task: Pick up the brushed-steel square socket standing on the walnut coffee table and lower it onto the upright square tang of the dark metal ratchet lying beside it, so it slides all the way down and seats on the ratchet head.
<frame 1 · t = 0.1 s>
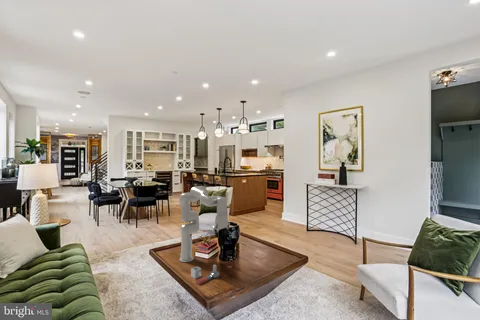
hand: (221, 235, 191), 31 cm above the table, fingers open, 9 cm apart
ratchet: (214, 276, 190), on the table
socket: (196, 276, 190), on the table
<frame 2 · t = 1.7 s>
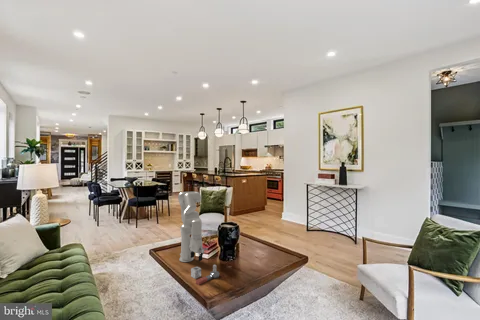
hand: (196, 258, 189), 14 cm above the table, fingers open, 9 cm apart
nothing on the table moved.
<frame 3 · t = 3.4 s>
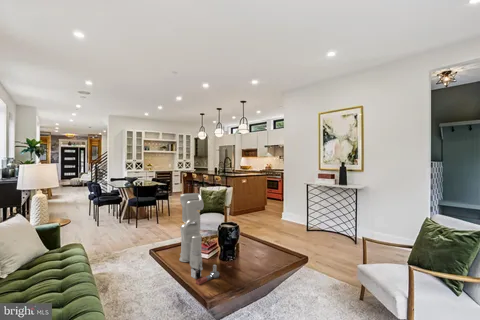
hand: (196, 275, 190), 1 cm above the table, fingers closed on socket, 5 cm apart
socket: (196, 276, 190), on the table, touching gripper
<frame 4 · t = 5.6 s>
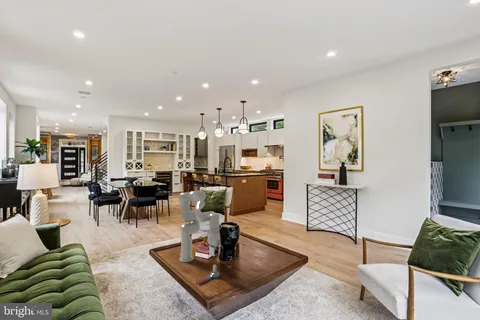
hand: (214, 253, 190), 18 cm above the table, fingers closed on socket, 5 cm apart
socket: (214, 254, 190), point 17 cm above the table, touching gripper
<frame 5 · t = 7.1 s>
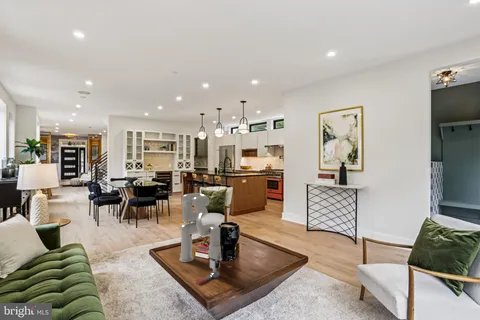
hand: (214, 266, 190), 8 cm above the table, fingers closed on socket, 5 cm apart
socket: (214, 267, 190), point 7 cm above the table, touching gripper
when the fingers open (4 cm above the table, at t = 8.1 s): socket drops 1 cm, resting on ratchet.
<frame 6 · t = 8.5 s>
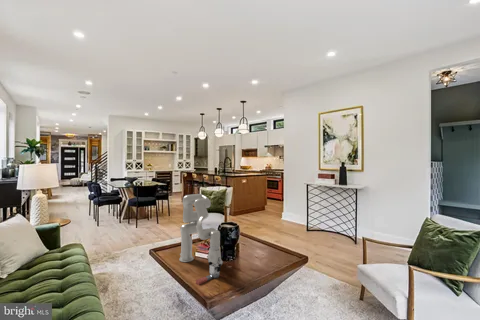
hand: (214, 269, 190), 5 cm above the table, fingers open, 9 cm apart
socket: (214, 272, 190), point 2 cm above the table, touching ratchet
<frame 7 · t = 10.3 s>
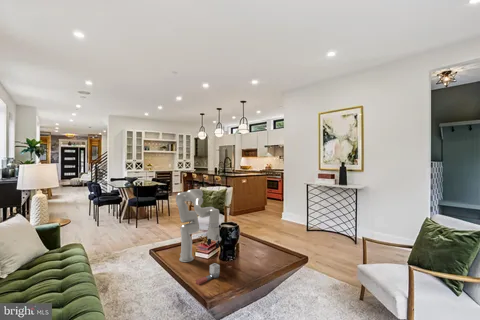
hand: (213, 246, 196), 21 cm above the table, fingers open, 9 cm apart
nothing on the table moved.
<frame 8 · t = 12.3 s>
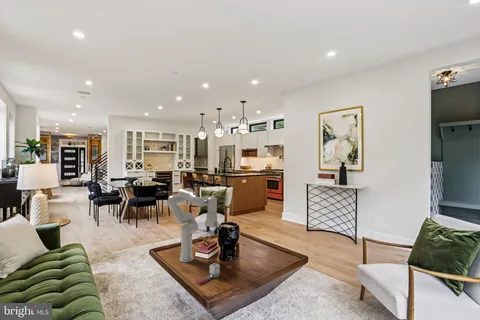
hand: (211, 233, 206), 28 cm above the table, fingers open, 9 cm apart
nothing on the table moved.
at the end: socket 0.1 cm off-centre on the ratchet, point 2.5 cm above the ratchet's base; socket tilted 0°; the gripper is holding nothing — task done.
